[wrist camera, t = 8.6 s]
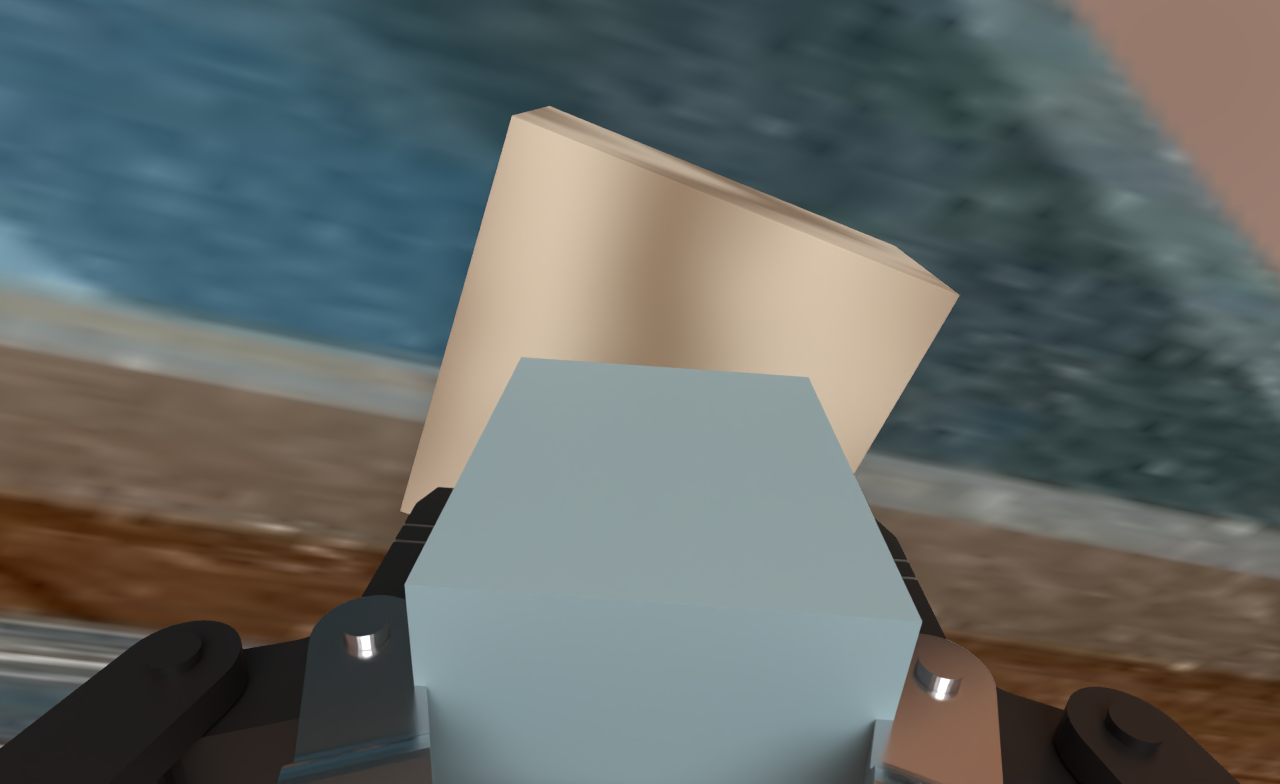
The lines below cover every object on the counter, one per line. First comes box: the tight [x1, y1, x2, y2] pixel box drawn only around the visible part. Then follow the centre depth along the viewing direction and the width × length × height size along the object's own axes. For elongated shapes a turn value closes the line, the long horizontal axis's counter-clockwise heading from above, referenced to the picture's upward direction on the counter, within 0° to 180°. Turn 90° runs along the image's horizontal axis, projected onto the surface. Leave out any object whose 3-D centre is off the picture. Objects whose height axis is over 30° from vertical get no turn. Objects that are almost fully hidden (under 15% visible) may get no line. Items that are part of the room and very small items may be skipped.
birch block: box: [400, 106, 960, 514], centre depth 19 cm, size 10×10×5 cm
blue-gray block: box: [404, 357, 922, 784], centre depth 11 cm, size 5×5×6 cm
